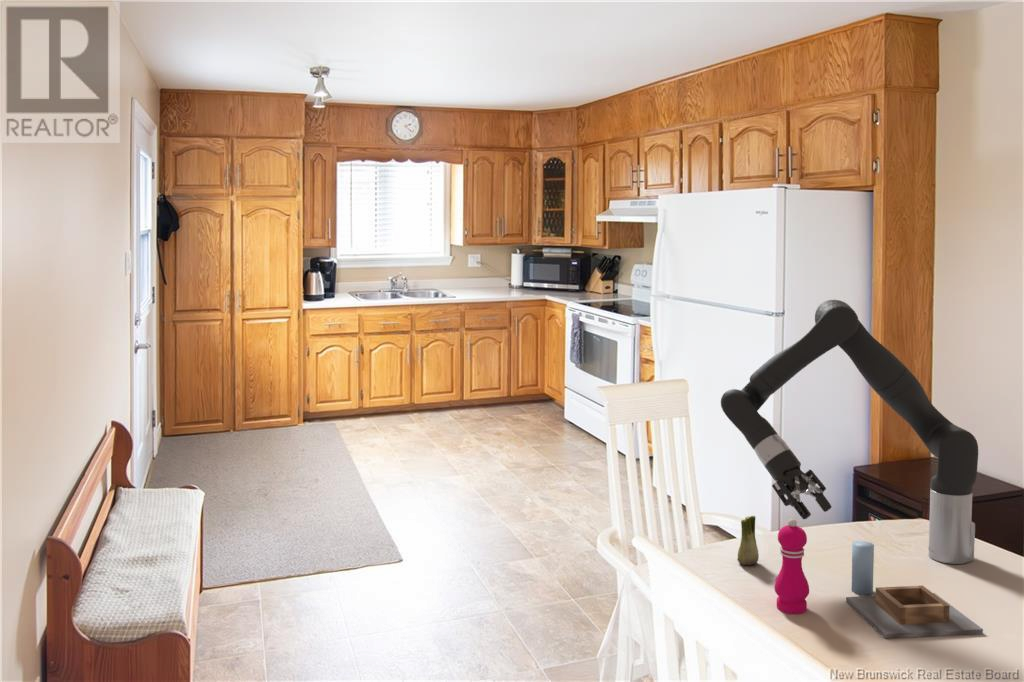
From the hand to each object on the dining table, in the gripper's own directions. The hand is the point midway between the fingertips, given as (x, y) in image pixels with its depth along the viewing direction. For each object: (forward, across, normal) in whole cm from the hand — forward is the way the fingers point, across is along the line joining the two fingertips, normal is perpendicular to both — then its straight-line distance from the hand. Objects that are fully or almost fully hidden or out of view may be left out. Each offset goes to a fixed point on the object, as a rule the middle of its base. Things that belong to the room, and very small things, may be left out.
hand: (818, 513), depth 200 cm
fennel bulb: (0, -6, +22) cm, 23 cm away
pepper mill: (+15, -20, +7) cm, 26 cm away
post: (+19, 0, +3) cm, 19 cm away
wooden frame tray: (+29, -5, -7) cm, 30 cm away
